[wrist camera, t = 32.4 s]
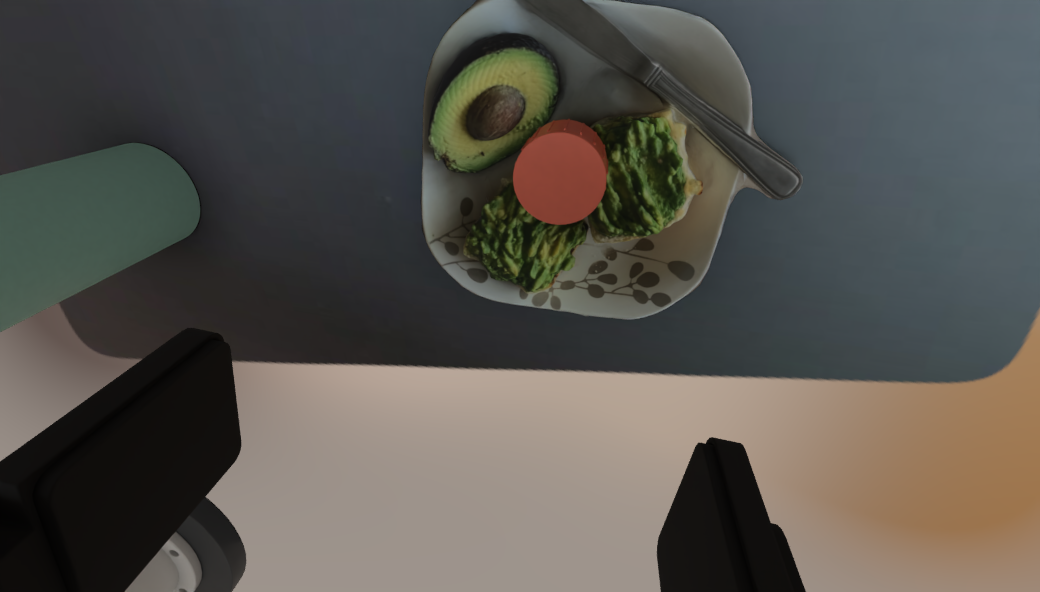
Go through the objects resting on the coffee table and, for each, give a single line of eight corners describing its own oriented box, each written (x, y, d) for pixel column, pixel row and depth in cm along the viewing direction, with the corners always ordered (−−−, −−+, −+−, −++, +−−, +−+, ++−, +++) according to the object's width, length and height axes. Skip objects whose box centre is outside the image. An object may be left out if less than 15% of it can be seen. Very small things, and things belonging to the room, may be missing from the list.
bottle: (206, 249, 35) (-157, 455, 19) (116, 230, 36) (-319, 414, 19) (193, 153, 32) (-255, 294, 16) (95, 133, 33) (-446, 251, 16)
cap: (534, 107, 24) (524, 119, 21) (619, 131, 24) (621, 146, 21) (514, 190, 26) (502, 211, 23) (593, 213, 26) (591, 236, 23)
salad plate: (856, 1, 24) (906, -4, 20) (731, 334, 32) (749, 379, 28) (439, -58, 25) (406, -73, 21) (423, 277, 34) (397, 311, 30)
